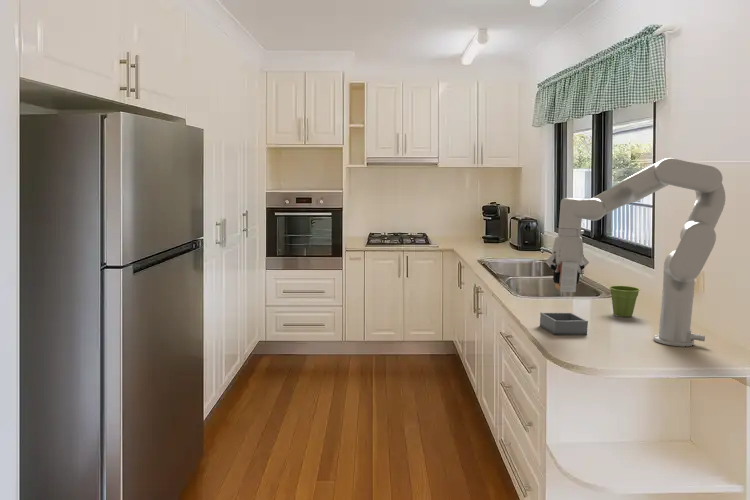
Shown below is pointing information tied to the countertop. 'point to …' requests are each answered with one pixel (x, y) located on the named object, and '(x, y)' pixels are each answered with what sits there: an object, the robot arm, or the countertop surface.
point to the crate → (563, 323)
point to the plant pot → (623, 300)
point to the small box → (567, 277)
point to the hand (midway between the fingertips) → (565, 282)
